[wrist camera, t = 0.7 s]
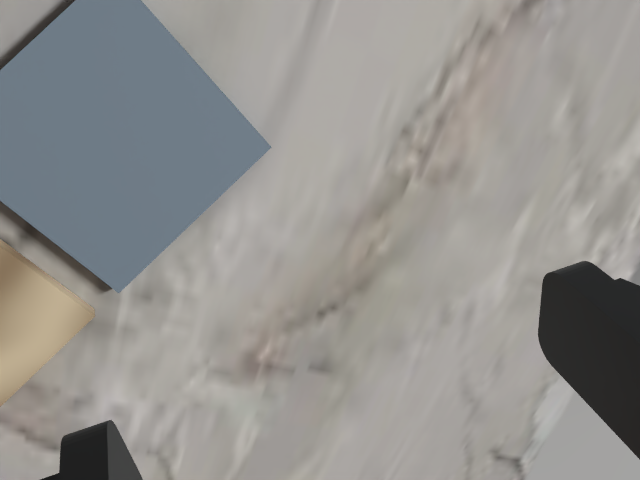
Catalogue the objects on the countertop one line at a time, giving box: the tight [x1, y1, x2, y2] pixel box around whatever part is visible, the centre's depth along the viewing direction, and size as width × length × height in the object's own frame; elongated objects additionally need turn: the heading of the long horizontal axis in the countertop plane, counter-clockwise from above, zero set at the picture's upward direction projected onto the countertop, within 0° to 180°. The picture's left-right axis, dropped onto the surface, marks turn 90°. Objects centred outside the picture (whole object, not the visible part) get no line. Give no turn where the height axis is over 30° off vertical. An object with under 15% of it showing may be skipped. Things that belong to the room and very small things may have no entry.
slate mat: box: [0, 0, 271, 293], centre depth 34 cm, size 13×13×1 cm
